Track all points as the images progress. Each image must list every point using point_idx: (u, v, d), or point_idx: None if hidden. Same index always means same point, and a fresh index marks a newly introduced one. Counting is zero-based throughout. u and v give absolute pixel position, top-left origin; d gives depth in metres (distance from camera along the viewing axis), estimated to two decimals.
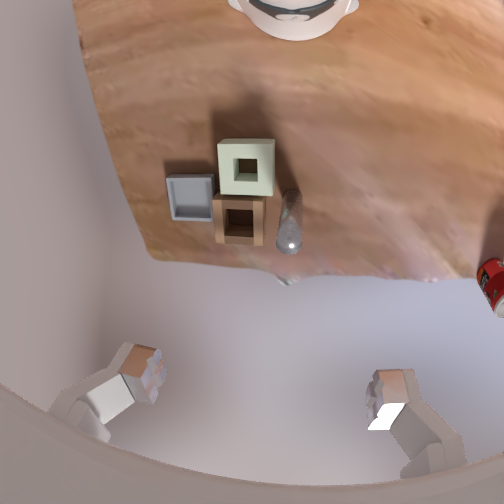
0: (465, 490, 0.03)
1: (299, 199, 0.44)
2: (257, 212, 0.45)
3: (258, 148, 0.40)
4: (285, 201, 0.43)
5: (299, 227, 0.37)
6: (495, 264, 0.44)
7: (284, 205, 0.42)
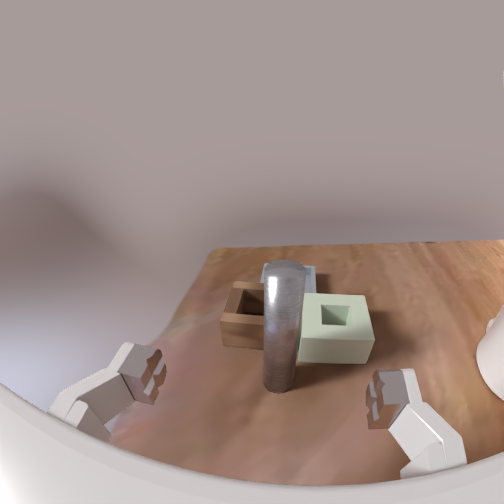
0: (465, 490, 0.03)
1: (290, 374, 0.26)
2: None
3: (366, 327, 0.30)
4: None
5: (296, 306, 0.22)
6: None
7: None
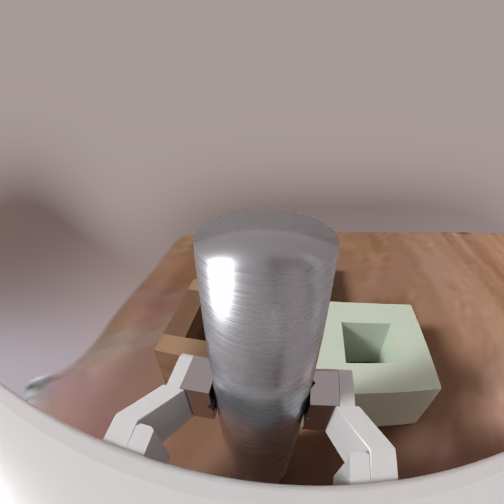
0: (465, 490, 0.03)
1: (280, 469, 0.11)
2: None
3: (424, 363, 0.14)
4: None
5: (302, 355, 0.06)
6: None
7: None
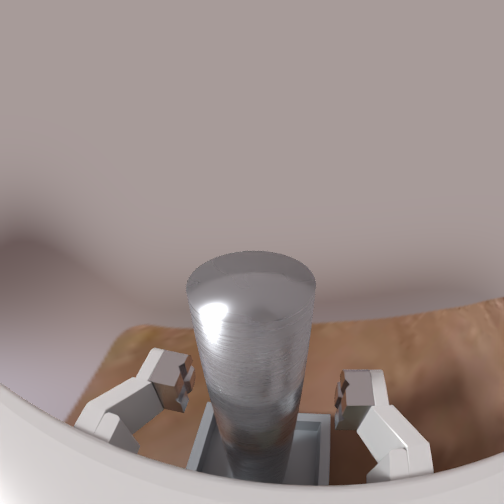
0: (465, 490, 0.03)
1: (277, 475, 0.11)
2: None
3: None
4: None
5: (285, 382, 0.07)
6: None
7: None
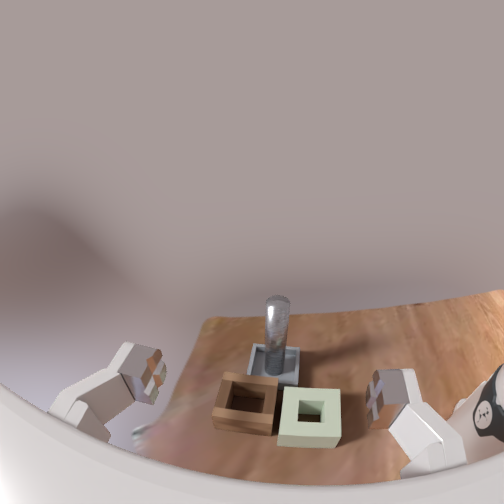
0: (465, 490, 0.03)
1: (281, 363, 0.43)
2: (257, 417, 0.33)
3: (336, 423, 0.32)
4: None
5: (284, 322, 0.38)
6: None
7: None
